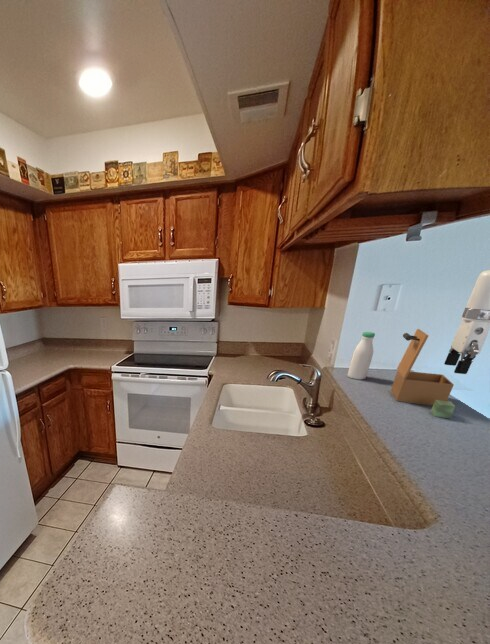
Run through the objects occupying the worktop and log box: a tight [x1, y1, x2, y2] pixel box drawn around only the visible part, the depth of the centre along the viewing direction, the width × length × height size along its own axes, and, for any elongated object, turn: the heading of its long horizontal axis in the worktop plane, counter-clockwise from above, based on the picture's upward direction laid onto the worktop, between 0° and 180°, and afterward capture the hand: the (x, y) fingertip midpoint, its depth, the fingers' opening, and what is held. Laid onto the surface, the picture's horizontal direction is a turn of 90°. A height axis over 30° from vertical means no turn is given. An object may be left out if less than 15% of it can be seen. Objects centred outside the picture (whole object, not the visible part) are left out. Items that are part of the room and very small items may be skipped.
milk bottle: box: [347, 331, 376, 380], centre depth 146 cm, size 8×8×20 cm
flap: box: [396, 328, 429, 379], centre depth 123 cm, size 16×12×5 cm
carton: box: [390, 370, 454, 406], centre depth 126 cm, size 15×12×9 cm
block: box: [430, 400, 456, 419], centre depth 114 cm, size 4×4×4 cm
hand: (454, 369), depth 109 cm, fingers open, 9 cm apart
